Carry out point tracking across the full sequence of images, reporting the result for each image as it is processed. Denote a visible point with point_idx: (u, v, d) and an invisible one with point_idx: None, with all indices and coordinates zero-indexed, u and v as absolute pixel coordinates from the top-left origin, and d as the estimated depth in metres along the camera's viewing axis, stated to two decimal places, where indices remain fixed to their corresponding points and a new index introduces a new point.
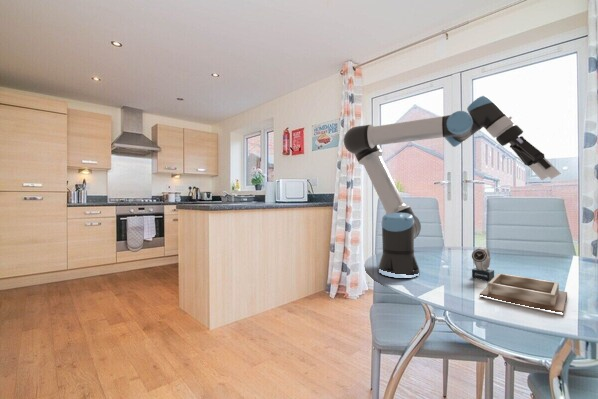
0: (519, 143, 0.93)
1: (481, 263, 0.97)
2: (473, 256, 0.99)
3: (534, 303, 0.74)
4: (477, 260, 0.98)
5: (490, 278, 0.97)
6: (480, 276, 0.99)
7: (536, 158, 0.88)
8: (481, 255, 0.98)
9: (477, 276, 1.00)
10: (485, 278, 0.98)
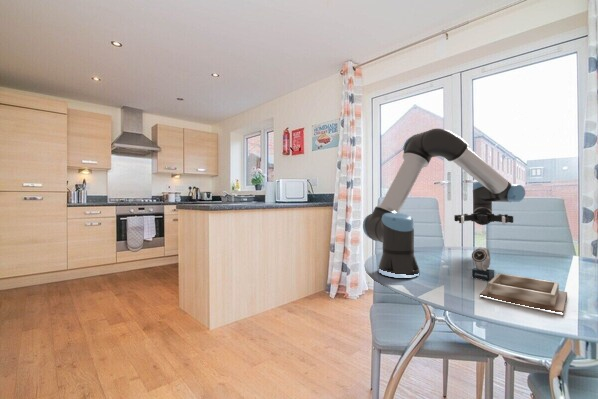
0: None
1: (481, 263, 0.97)
2: (473, 256, 0.99)
3: (534, 303, 0.74)
4: (477, 260, 0.98)
5: (490, 278, 0.97)
6: (480, 276, 0.99)
7: None
8: (481, 255, 0.98)
9: (477, 276, 1.00)
10: (485, 278, 0.98)
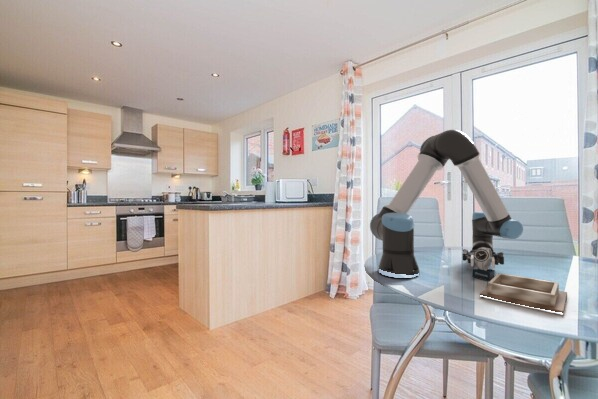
0: (502, 254, 1.05)
1: (482, 263, 0.97)
2: (475, 255, 0.99)
3: (534, 303, 0.74)
4: (478, 260, 0.97)
5: (490, 278, 0.97)
6: (480, 275, 0.99)
7: (503, 258, 0.98)
8: (483, 255, 0.97)
9: (477, 275, 1.00)
10: (485, 278, 0.98)
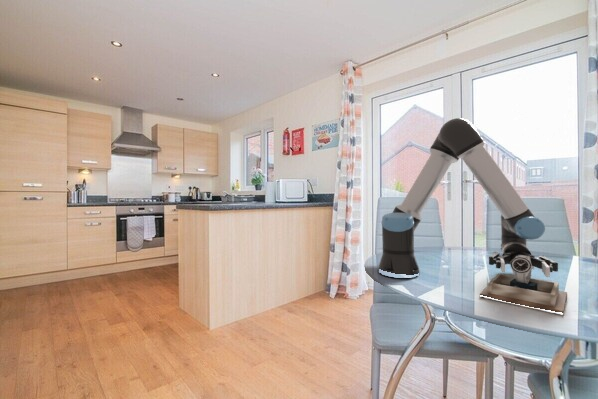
0: None
1: (524, 274, 0.79)
2: (513, 266, 0.81)
3: (534, 303, 0.74)
4: (518, 271, 0.80)
5: None
6: None
7: (557, 264, 0.80)
8: (523, 265, 0.80)
9: None
10: None
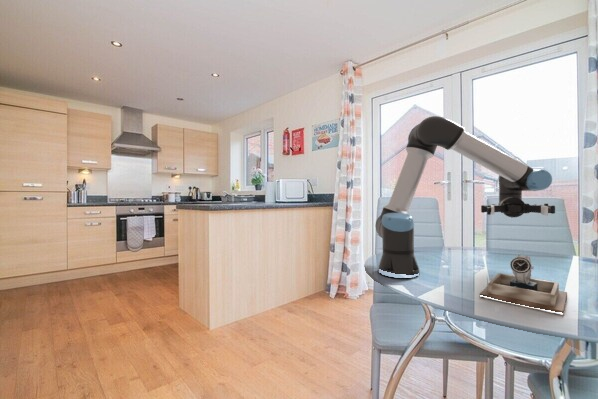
0: None
1: (524, 275, 0.79)
2: (512, 266, 0.81)
3: (534, 303, 0.74)
4: (518, 271, 0.80)
5: None
6: None
7: (554, 206, 0.91)
8: (523, 265, 0.80)
9: None
10: None
